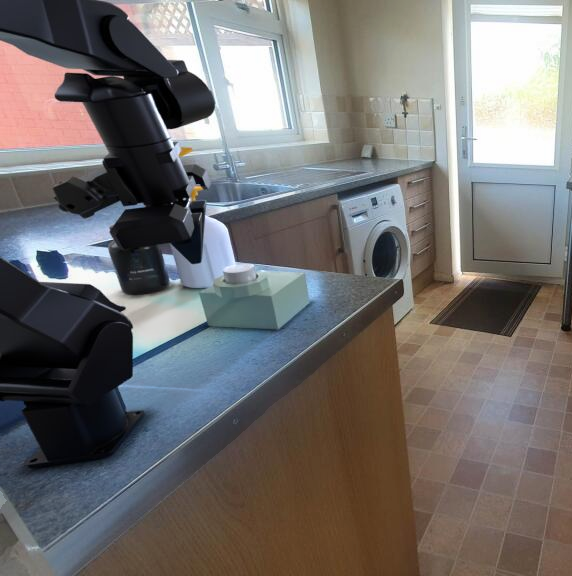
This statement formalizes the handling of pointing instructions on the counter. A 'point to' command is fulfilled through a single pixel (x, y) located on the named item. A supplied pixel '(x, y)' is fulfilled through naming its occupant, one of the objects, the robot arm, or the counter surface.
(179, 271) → the soap bottle
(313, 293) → the counter surface
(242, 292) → the push button box
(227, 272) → the flush button
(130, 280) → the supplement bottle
